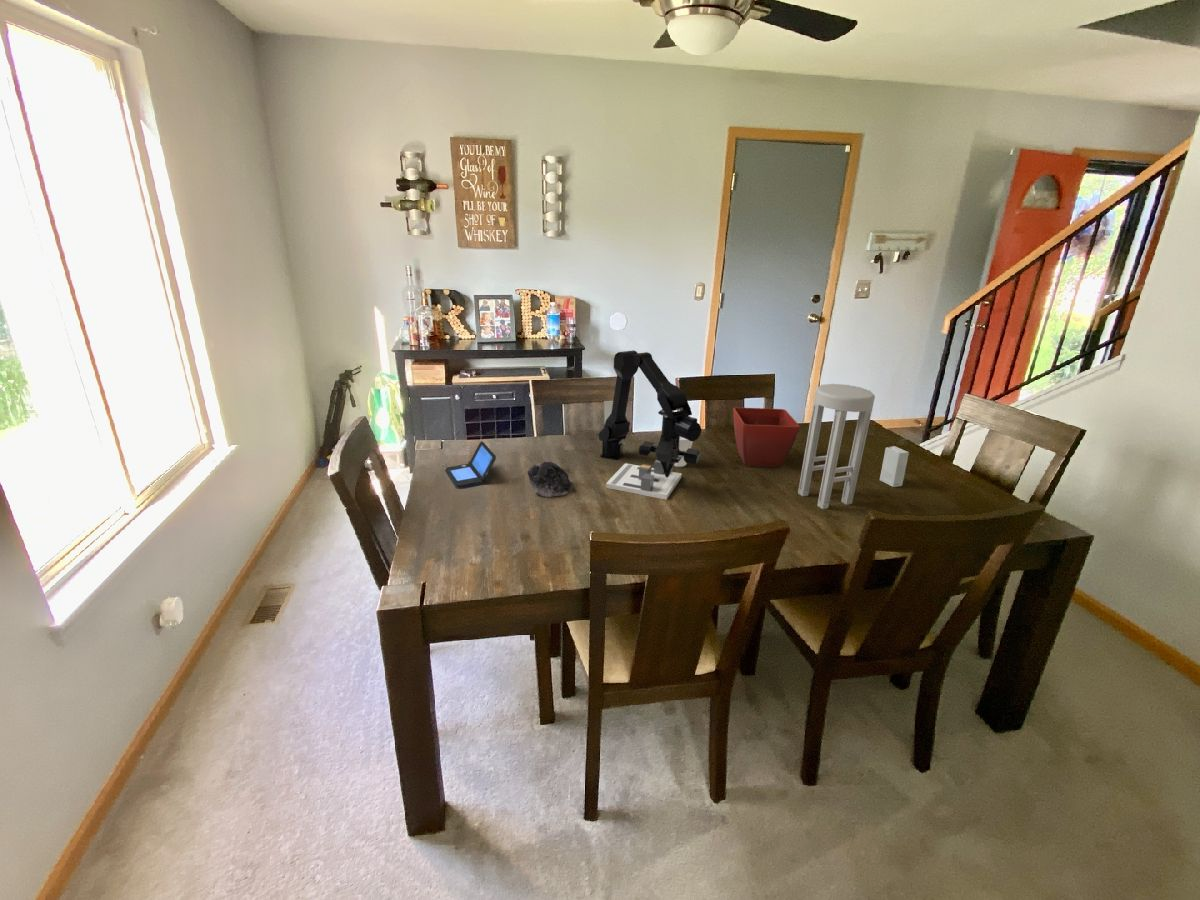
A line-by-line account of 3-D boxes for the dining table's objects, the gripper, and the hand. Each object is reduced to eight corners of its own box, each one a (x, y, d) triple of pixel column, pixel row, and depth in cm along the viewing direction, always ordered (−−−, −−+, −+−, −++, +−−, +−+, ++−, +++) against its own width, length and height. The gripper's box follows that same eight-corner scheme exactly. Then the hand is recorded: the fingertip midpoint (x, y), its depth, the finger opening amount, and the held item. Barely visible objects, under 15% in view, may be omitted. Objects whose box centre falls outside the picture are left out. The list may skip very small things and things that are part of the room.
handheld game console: (444, 471, 190) (442, 445, 186) (483, 465, 196) (481, 439, 192) (456, 490, 177) (454, 462, 174) (498, 482, 183) (496, 455, 180)
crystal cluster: (577, 485, 184) (576, 455, 181) (564, 500, 171) (563, 468, 169) (539, 482, 187) (537, 453, 185) (523, 497, 175) (521, 466, 172)
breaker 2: (653, 472, 189) (654, 461, 187) (656, 468, 192) (657, 458, 190) (662, 474, 188) (663, 463, 186) (665, 470, 191) (666, 459, 189)
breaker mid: (638, 479, 184) (639, 467, 182) (642, 475, 187) (642, 463, 185) (647, 481, 183) (648, 469, 181) (650, 476, 186) (651, 465, 184)
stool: (788, 491, 182) (805, 385, 169) (826, 485, 187) (846, 381, 174) (821, 513, 169) (843, 400, 156) (862, 505, 174) (886, 395, 161)
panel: (605, 487, 181) (606, 483, 180) (624, 467, 196) (625, 463, 196) (666, 499, 174) (666, 495, 174) (681, 477, 190) (681, 473, 189)
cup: (691, 459, 205) (694, 430, 201) (692, 470, 196) (695, 440, 191) (663, 457, 206) (666, 429, 201) (664, 468, 196) (666, 438, 192)
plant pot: (793, 472, 197) (801, 426, 190) (738, 470, 197) (744, 424, 191) (778, 451, 214) (785, 408, 208) (727, 449, 215) (732, 407, 208)
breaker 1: (640, 489, 177) (641, 477, 175) (644, 485, 180) (644, 473, 178) (649, 491, 176) (650, 479, 174) (653, 486, 179) (654, 475, 177)
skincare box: (902, 486, 188) (911, 452, 184) (892, 487, 187) (900, 453, 182) (888, 478, 193) (895, 445, 189) (877, 480, 192) (885, 446, 187)
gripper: (634, 434, 172) (631, 481, 178) (694, 444, 166) (689, 492, 171) (645, 423, 182) (642, 468, 187) (702, 432, 175) (698, 478, 181)
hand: (667, 476), depth 182 cm, fingers closed
